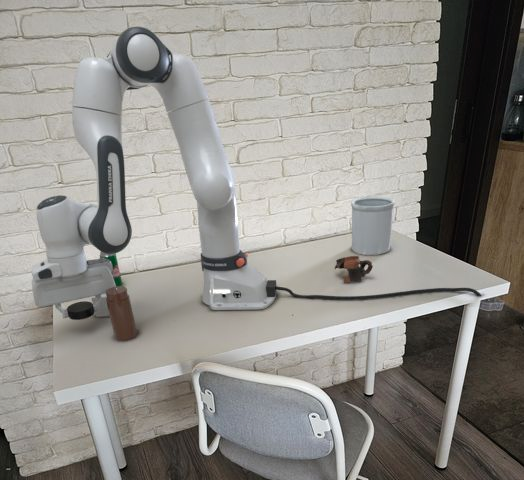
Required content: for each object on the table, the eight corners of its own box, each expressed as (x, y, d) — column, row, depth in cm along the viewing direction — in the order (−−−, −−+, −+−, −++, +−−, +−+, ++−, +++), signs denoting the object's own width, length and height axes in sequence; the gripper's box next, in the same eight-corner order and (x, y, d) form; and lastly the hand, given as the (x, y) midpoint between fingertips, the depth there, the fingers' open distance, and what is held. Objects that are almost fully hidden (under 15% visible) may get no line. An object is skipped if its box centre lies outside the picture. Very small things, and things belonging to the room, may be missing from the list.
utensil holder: (367, 258, 167) (370, 208, 159) (341, 248, 179) (343, 200, 170) (399, 250, 173) (403, 201, 164) (372, 240, 185) (375, 194, 176)
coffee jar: (141, 331, 128) (131, 286, 122) (130, 341, 123) (120, 295, 117) (121, 329, 130) (111, 285, 123) (110, 340, 125) (99, 294, 118)
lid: (64, 315, 127) (62, 307, 126) (87, 306, 131) (85, 299, 130) (75, 322, 123) (73, 314, 122) (99, 313, 127) (97, 305, 126)
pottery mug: (334, 285, 150) (330, 259, 150) (340, 287, 158) (337, 263, 158) (373, 277, 145) (368, 250, 145) (377, 280, 154) (373, 255, 154)
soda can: (118, 289, 155) (110, 254, 149) (104, 289, 156) (95, 253, 150) (125, 283, 159) (117, 248, 153) (111, 283, 160) (103, 248, 154)
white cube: (102, 308, 143) (98, 289, 140) (122, 307, 143) (118, 288, 140) (95, 316, 138) (91, 297, 135) (116, 315, 138) (111, 296, 135)
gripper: (108, 253, 126) (118, 300, 133) (24, 268, 119) (40, 318, 126) (112, 259, 121) (123, 309, 128) (26, 275, 114) (42, 327, 121)
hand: (81, 313), depth 127 cm, fingers closed on lid, 6 cm apart
